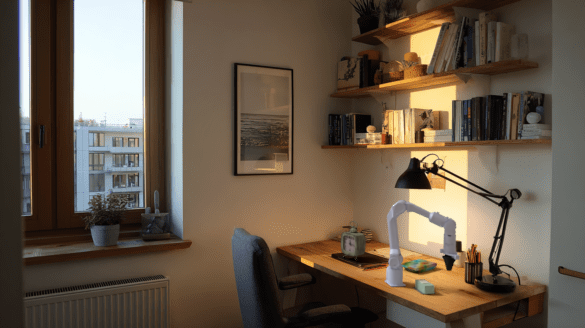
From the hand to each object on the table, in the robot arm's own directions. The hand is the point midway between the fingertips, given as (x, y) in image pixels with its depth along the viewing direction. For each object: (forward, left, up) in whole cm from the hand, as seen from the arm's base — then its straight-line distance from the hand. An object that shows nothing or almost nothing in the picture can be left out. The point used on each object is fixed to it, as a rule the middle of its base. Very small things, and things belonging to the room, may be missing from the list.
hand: (449, 270), depth 207 cm
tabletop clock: (-66, -28, -11) cm, 72 cm away
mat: (-2, -12, -10) cm, 16 cm away
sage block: (+3, -12, -8) cm, 15 cm away
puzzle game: (-38, +3, -11) cm, 40 cm away
